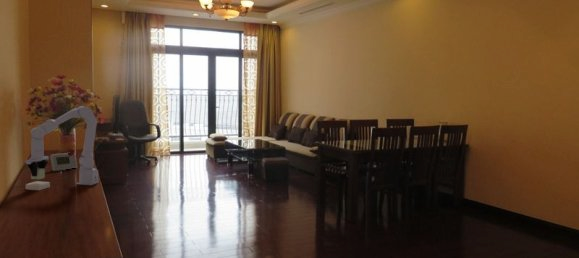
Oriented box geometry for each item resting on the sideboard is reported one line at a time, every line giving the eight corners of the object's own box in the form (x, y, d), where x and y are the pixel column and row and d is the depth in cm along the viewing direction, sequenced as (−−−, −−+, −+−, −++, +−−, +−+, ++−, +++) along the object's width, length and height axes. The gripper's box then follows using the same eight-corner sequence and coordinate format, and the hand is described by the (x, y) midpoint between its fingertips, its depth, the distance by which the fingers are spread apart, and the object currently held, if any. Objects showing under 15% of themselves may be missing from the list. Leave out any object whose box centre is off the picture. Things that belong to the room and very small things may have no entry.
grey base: (49, 187, 231) (49, 182, 231) (39, 191, 223) (39, 185, 223) (36, 186, 232) (36, 181, 232) (25, 189, 224) (25, 184, 224)
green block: (44, 177, 229) (44, 168, 229) (38, 179, 225) (38, 170, 224) (37, 177, 230) (37, 167, 229) (31, 178, 225) (30, 169, 225)
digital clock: (51, 172, 268) (51, 155, 267) (48, 169, 274) (48, 153, 273) (79, 169, 279) (79, 153, 278) (75, 167, 285) (75, 151, 284)
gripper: (40, 147, 233) (40, 172, 235) (20, 151, 219) (20, 177, 220) (52, 148, 233) (52, 172, 234) (32, 152, 218) (33, 178, 219)
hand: (37, 175), depth 227 cm, fingers closed on green block, 4 cm apart
